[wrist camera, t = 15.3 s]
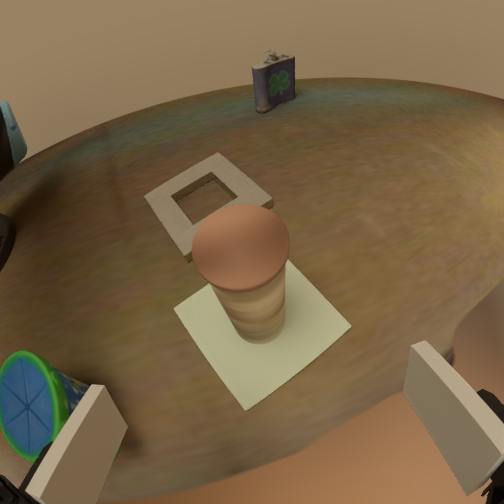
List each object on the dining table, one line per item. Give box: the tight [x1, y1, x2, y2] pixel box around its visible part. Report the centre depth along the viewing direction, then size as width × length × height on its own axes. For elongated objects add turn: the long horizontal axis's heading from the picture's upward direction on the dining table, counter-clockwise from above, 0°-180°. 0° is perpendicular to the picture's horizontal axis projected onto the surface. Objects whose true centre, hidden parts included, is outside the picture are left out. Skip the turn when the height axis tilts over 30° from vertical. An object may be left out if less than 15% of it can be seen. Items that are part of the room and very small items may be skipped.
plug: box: [192, 204, 289, 344], centre depth 21 cm, size 5×5×14 cm
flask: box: [252, 50, 295, 113], centre depth 44 cm, size 10×3×12 cm, turn 132°
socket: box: [144, 153, 273, 262], centre depth 36 cm, size 13×13×2 cm
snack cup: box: [0, 350, 121, 463], centre depth 19 cm, size 16×10×10 cm
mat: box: [174, 259, 351, 411], centre depth 28 cm, size 13×13×1 cm
